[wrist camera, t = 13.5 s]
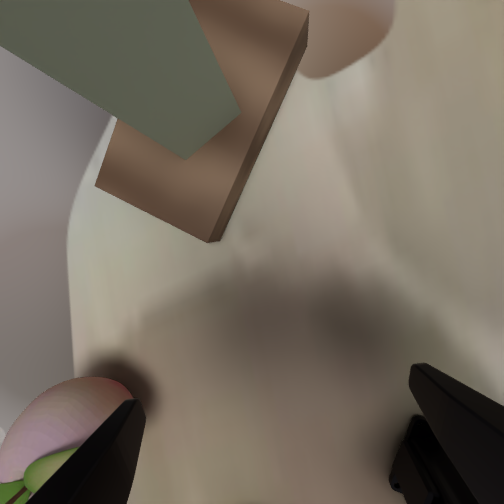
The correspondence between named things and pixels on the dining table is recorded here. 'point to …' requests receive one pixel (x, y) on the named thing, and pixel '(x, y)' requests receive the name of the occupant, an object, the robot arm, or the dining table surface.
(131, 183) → the walnut base board
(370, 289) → the dining table surface
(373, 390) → the dining table surface
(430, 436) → the robot arm
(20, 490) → the decorative fruit
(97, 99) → the sage-green block
